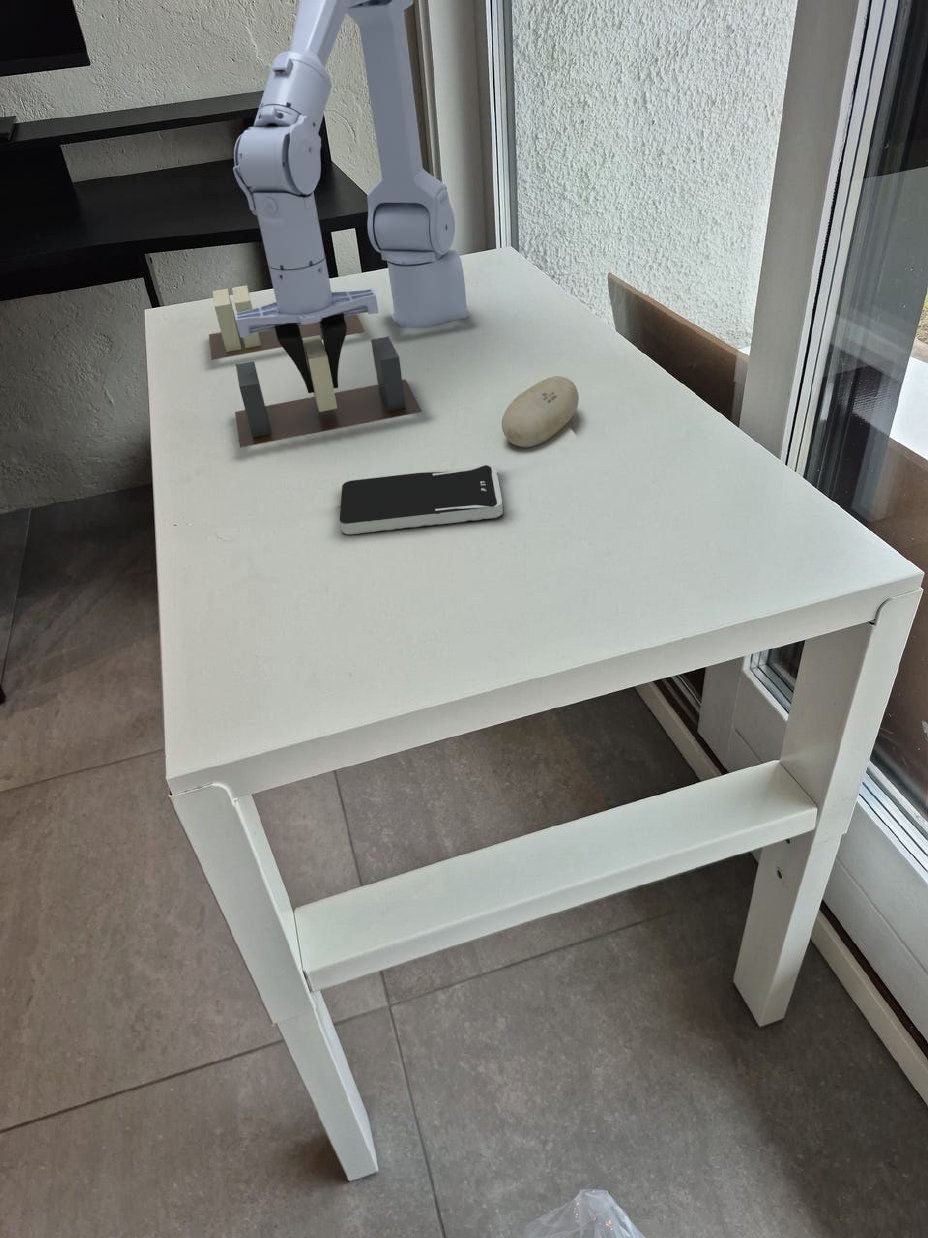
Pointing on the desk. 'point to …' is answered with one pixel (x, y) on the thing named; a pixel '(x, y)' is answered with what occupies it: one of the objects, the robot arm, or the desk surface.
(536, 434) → the stone
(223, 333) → the cream books
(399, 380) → the grey books
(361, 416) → the shelf
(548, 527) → the desk surface
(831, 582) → the desk surface
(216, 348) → the shelf
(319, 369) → the cream book
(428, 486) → the smartphone
